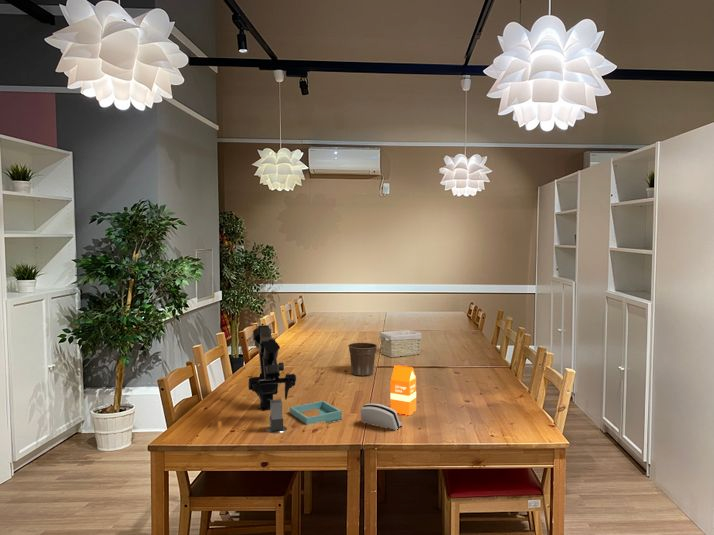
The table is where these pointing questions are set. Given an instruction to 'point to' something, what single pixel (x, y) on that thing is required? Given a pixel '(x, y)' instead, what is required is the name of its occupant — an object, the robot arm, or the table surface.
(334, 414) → the bin
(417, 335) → the storage basket
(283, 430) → the stud plate
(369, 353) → the plant pot
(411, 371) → the orange juice
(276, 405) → the strut
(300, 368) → the table surface
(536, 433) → the table surface
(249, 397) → the table surface
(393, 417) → the magnetic glass cleaner
